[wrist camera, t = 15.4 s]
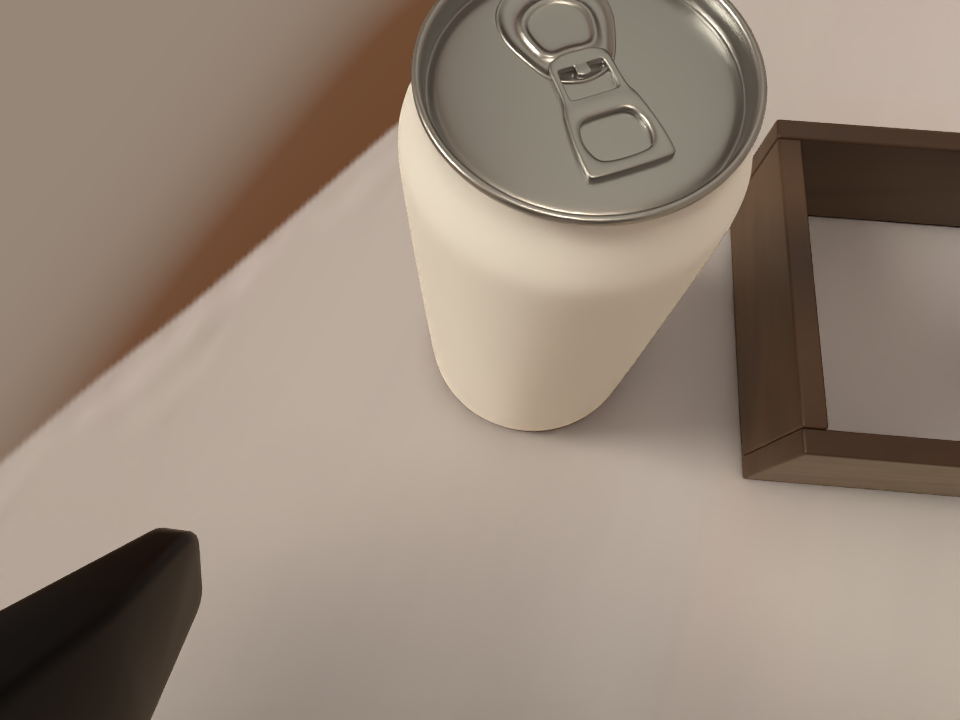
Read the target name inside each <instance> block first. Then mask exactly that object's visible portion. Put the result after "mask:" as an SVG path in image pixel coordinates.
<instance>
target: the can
mask: <svg viewBox="0 0 960 720" xmlns="http://www.w3.org/2000/svg"><path fill="white" fill-rule="evenodd" d="M766 103H767V78H766V71H765V65H764V61H763V57H762V54H761V51H760V48H759V46H758V43H757V41H756V39H755V37H754V35H753V33H752V31H751V29H750V27H749V26H748V24H747V22H746V21H745V20H744V18H743V17H742V15H741V14H740V13H739V11H738V10H737V9H736V8H735V6H734V5H733V4H732V3H731V2H730V1H729V0H437V2H436V3H435V4H434V6H433V7H432V9H431V10H430V12H429V13H428V15H427V17H426V18H425V20H424V22H423V24H422V26H421V29H420V31H419V34H418V36H417V40H416V43H415V47H414V51H413V56H412V65H411V83H410V85H409V88H408V90H407V93H406V96H405V99H404V102H403V106H402V109H401V114H400V120H399V128H398V155H399V165H400V172H401V180H402V186H403V192H404V198H405V204H406V209H407V215H408V221H409V226H410V232H411V237H412V243H413V248H414V254H415V259H416V264H417V270H418V275H419V280H420V286H421V291H422V296H423V301H424V306H425V312H426V317H427V322H428V327H429V332H430V337H431V342H432V346H433V351H434V355H435V358H436V362H437V365H438V368H439V370H440V372H441V374H442V376H443V378H444V380H445V382H446V384H447V385H448V387H449V388H450V390H451V391H452V392H453V394H454V395H455V396H456V397H457V398H458V399H459V400H460V401H461V402H462V403H463V404H464V405H465V406H466V407H467V408H469V409H470V410H471V411H473V412H474V413H476V414H477V415H479V416H480V417H482V418H484V419H486V420H488V421H490V422H492V423H495V424H497V425H500V426H503V427H507V428H511V429H516V430H524V431H542V430H550V429H555V428H559V427H563V426H566V425H569V424H571V423H574V422H576V421H578V420H580V419H582V418H584V417H585V416H587V415H588V414H590V413H591V412H593V411H594V410H595V409H597V408H598V407H599V406H600V405H601V404H602V403H603V402H604V401H605V400H606V399H607V398H608V397H609V396H610V395H611V393H612V392H613V391H614V390H615V388H616V387H617V386H618V384H619V383H620V382H621V380H622V379H623V378H624V376H625V375H626V374H627V372H628V371H629V370H630V368H631V367H632V365H633V364H634V363H635V361H636V360H637V359H638V357H639V356H640V354H641V353H642V352H643V350H644V349H645V348H646V346H647V345H648V343H649V342H650V341H651V339H652V338H653V336H654V335H655V334H656V332H657V331H658V329H659V328H660V327H661V325H662V324H663V322H664V321H665V320H666V318H667V317H668V316H669V314H670V313H671V311H672V310H673V309H674V307H675V306H676V304H677V303H678V302H679V300H680V299H681V297H682V296H683V294H684V293H685V292H686V290H687V289H688V287H689V286H690V285H691V283H692V282H693V280H694V279H695V278H696V276H697V275H698V273H699V272H700V270H701V269H702V268H703V266H704V265H705V263H706V262H707V260H708V259H709V257H710V256H711V255H712V253H713V252H714V250H715V249H716V247H717V246H718V244H719V243H720V241H721V240H722V238H723V236H724V235H725V233H726V232H727V230H728V229H729V227H730V225H731V224H732V222H733V220H734V218H735V216H736V214H737V212H738V210H739V208H740V206H741V204H742V201H743V199H744V197H745V194H746V191H747V188H748V184H749V180H750V176H751V169H752V160H753V145H754V143H755V141H756V139H757V136H758V134H759V132H760V129H761V126H762V122H763V119H764V115H765V110H766Z"/></svg>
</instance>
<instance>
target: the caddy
mask: <svg viewBox="0 0 960 720" xmlns="http://www.w3.org/2000/svg"><path fill="white" fill-rule="evenodd" d="M808 215H816V216H829V217H842V218H855V219H869V220H882V221H895V222H908V223H921V224H934V225H947V226H960V133H956V132H942V131H929V130H915V129H901V128H887V127H874V126H860V125H846V124H833V123H819V122H805V121H791V120H777V121H776V122H775V124H774V125H773V127H772V128H771V130H770V131H769V133H768V134H767V136H766V138H765V139H764V141H763V142H762V144H761V145H760V147H759V148H758V150H757V151H756V153H755V154H754V156H753V160H752V169H751V176H750V180H749V184H748V188H747V191H746V194H745V197H744V199H743V201H742V204H741V206H740V208H739V210H738V212H737V214H736V216H735V218H734V220H733V222H732V224H731V243H732V262H733V282H734V301H735V321H736V341H737V360H738V380H739V399H740V419H741V439H742V454H743V455H744V456H743V458H742V462H743V477H744V478H746V479H758V480H770V481H781V482H793V483H805V484H816V485H828V486H840V487H852V488H863V489H875V490H887V491H899V492H910V493H922V494H934V495H946V496H957V497H960V441H952V440H940V439H928V438H916V437H904V436H892V435H880V434H868V433H856V432H844V431H832V430H827V429H828V419H827V408H826V398H825V388H824V377H823V367H822V357H821V347H820V336H819V326H818V316H817V305H816V295H815V285H814V274H813V264H812V254H811V244H810V233H809V223H808Z"/></svg>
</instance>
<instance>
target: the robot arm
mask: <svg viewBox="0 0 960 720" xmlns="http://www.w3.org/2000/svg"><path fill="white" fill-rule="evenodd" d="M201 596H202V579H201V565H200V550H199V542H198V538H197V536H196V535H195V534H194V533H192V532H190V531H184V530H177V529H169V528H157V529H155V530H152V531H150V532H148V533H146V534H144V535H142V536H141V537H139V538H137V539H135V540H133V541H131V542H129V543H127V544H125V545H124V546H122V547H120V548H118V549H116V550H114V551H112V552H110V553H108V554H107V555H105V556H103V557H101V558H99V559H97V560H95V561H93V562H91V563H90V564H88V565H86V566H84V567H82V568H80V569H78V570H76V571H75V572H73V573H71V574H69V575H67V576H65V577H63V578H61V579H59V580H58V581H56V582H54V583H52V584H50V585H48V586H46V587H44V588H42V589H41V590H39V591H37V592H35V593H33V594H31V595H29V596H27V597H25V598H24V599H22V600H20V601H18V602H16V603H14V604H12V605H10V606H8V607H7V608H5V609H3V610H1V611H0V720H151V718H152V715H153V713H154V711H155V708H156V706H157V704H158V701H159V699H160V697H161V695H162V692H163V690H164V688H165V685H166V683H167V681H168V678H169V676H170V674H171V671H172V669H173V667H174V664H175V662H176V660H177V658H178V655H179V653H180V651H181V648H182V646H183V644H184V641H185V639H186V637H187V634H188V632H189V630H190V627H191V625H192V623H193V621H194V618H195V616H196V614H197V611H198V608H199V605H200V601H201Z"/></svg>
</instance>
